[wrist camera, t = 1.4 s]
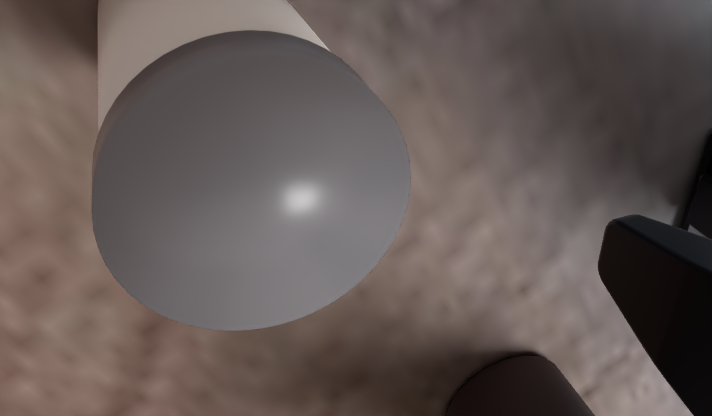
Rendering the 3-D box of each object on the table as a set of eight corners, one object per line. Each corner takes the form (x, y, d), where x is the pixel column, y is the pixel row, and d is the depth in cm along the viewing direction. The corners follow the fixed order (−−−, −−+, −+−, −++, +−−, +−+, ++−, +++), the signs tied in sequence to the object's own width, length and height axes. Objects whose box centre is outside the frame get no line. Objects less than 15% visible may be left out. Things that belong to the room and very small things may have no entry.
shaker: (267, -86, 18) (411, 30, 10) (288, 89, 21) (411, 289, 13) (68, -63, 16) (43, 91, 8) (120, 119, 19) (138, 362, 11)
